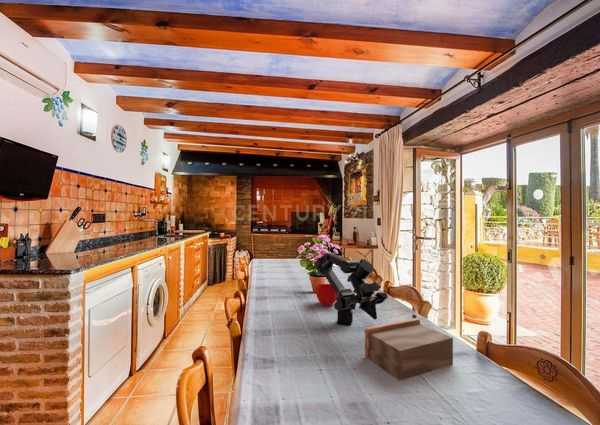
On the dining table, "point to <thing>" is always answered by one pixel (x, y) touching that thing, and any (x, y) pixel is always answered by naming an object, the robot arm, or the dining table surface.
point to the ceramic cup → (326, 294)
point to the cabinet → (411, 350)
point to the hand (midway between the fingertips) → (375, 318)
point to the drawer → (384, 328)
